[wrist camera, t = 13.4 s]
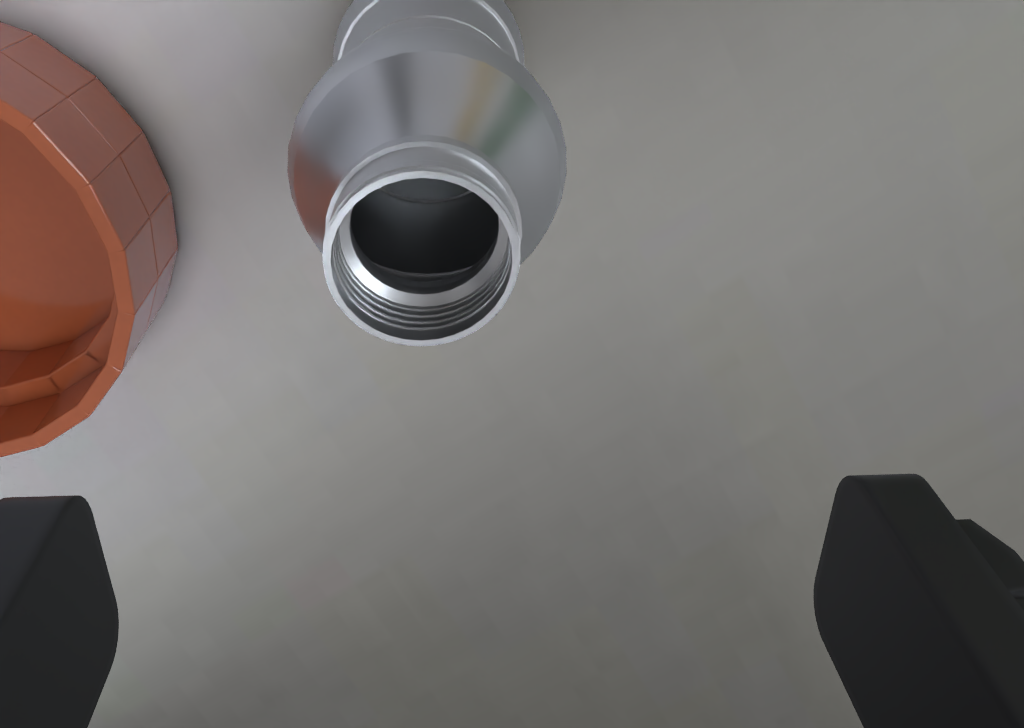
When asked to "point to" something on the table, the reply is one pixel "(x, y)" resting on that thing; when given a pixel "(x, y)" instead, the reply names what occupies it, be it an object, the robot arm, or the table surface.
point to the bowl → (71, 241)
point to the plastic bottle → (426, 166)
